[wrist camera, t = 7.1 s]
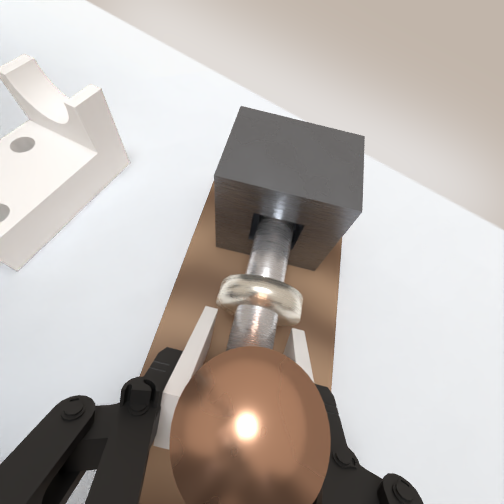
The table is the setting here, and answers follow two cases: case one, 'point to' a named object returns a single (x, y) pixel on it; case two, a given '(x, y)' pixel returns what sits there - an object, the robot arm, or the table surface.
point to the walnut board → (205, 294)
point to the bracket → (51, 159)
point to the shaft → (253, 397)
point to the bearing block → (288, 184)
